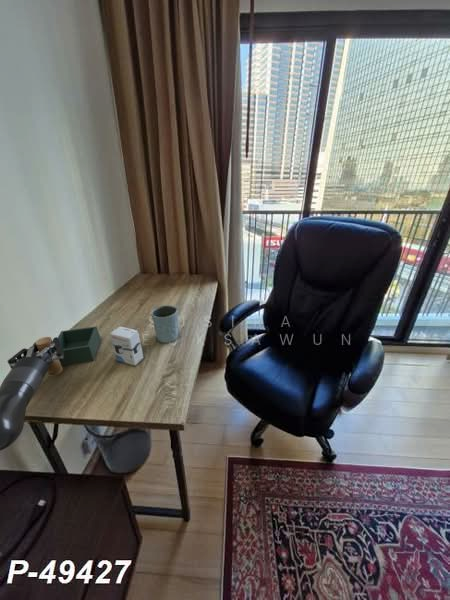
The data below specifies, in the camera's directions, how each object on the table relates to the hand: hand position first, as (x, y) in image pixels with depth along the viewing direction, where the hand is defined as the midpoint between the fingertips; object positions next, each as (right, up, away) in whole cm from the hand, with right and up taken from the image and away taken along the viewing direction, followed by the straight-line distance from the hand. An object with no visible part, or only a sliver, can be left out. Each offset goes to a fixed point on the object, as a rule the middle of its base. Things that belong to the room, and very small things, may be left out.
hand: (48, 340), depth 79 cm
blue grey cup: (+32, -2, +24) cm, 40 cm away
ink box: (+21, -9, +12) cm, 26 cm away
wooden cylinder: (+1, -10, +2) cm, 10 cm away
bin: (0, -7, +16) cm, 17 cm away
